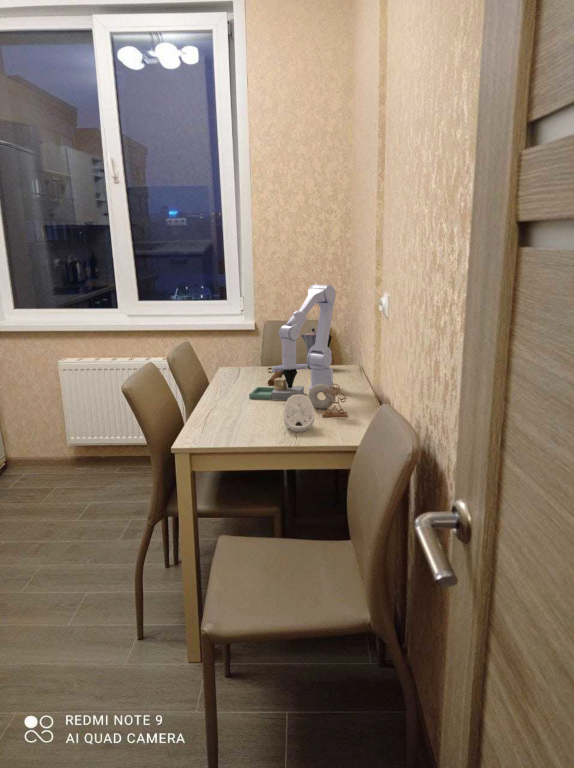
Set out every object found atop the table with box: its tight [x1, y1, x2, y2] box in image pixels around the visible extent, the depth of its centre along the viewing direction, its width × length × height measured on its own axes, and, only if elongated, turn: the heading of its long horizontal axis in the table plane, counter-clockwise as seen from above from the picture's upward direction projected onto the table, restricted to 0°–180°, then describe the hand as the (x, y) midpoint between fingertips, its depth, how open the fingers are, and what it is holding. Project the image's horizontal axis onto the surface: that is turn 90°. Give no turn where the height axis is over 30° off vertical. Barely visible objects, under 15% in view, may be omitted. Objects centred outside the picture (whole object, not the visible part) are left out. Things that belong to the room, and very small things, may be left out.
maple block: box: [273, 377, 288, 390], centre depth 231 cm, size 4×4×4 cm
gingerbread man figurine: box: [321, 383, 348, 418], centre depth 202 cm, size 9×4×12 cm, turn 84°
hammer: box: [267, 366, 283, 387], centre depth 264 cm, size 12×3×30 cm
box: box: [248, 386, 274, 401], centre depth 233 cm, size 9×12×2 cm
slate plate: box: [271, 385, 305, 401], centre depth 230 cm, size 11×12×3 cm
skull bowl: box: [282, 394, 316, 433], centre depth 191 cm, size 10×14×12 cm
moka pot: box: [300, 328, 332, 370], centre depth 281 cm, size 10×15×20 cm, turn 82°
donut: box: [308, 383, 334, 410], centre depth 211 cm, size 10×4×10 cm, turn 78°
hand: (289, 387), depth 229 cm, fingers closed
